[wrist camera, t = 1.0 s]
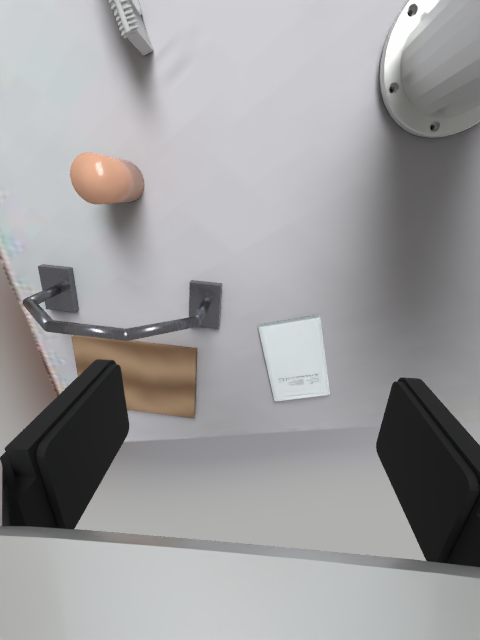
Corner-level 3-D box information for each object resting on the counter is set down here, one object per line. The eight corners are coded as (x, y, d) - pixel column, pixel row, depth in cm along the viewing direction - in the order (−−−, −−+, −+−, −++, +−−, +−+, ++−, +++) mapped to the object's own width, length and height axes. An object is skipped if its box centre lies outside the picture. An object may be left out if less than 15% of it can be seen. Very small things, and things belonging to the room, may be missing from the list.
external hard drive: (318, 312, 39) (328, 388, 44) (258, 322, 41) (273, 395, 45) (320, 317, 38) (330, 395, 42) (257, 327, 39) (274, 402, 44)
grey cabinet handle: (43, 264, 39) (-41, 291, 28) (222, 283, 38) (204, 318, 27) (51, 306, 41) (-23, 345, 31) (219, 325, 40) (202, 372, 30)
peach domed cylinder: (105, 158, 33) (67, 150, 27) (143, 161, 33) (113, 154, 27) (109, 200, 35) (73, 202, 29) (145, 203, 35) (117, 206, 29)
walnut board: (75, 334, 43) (71, 337, 42) (197, 348, 42) (195, 351, 41) (86, 399, 48) (82, 403, 47) (195, 413, 47) (193, 418, 46)
